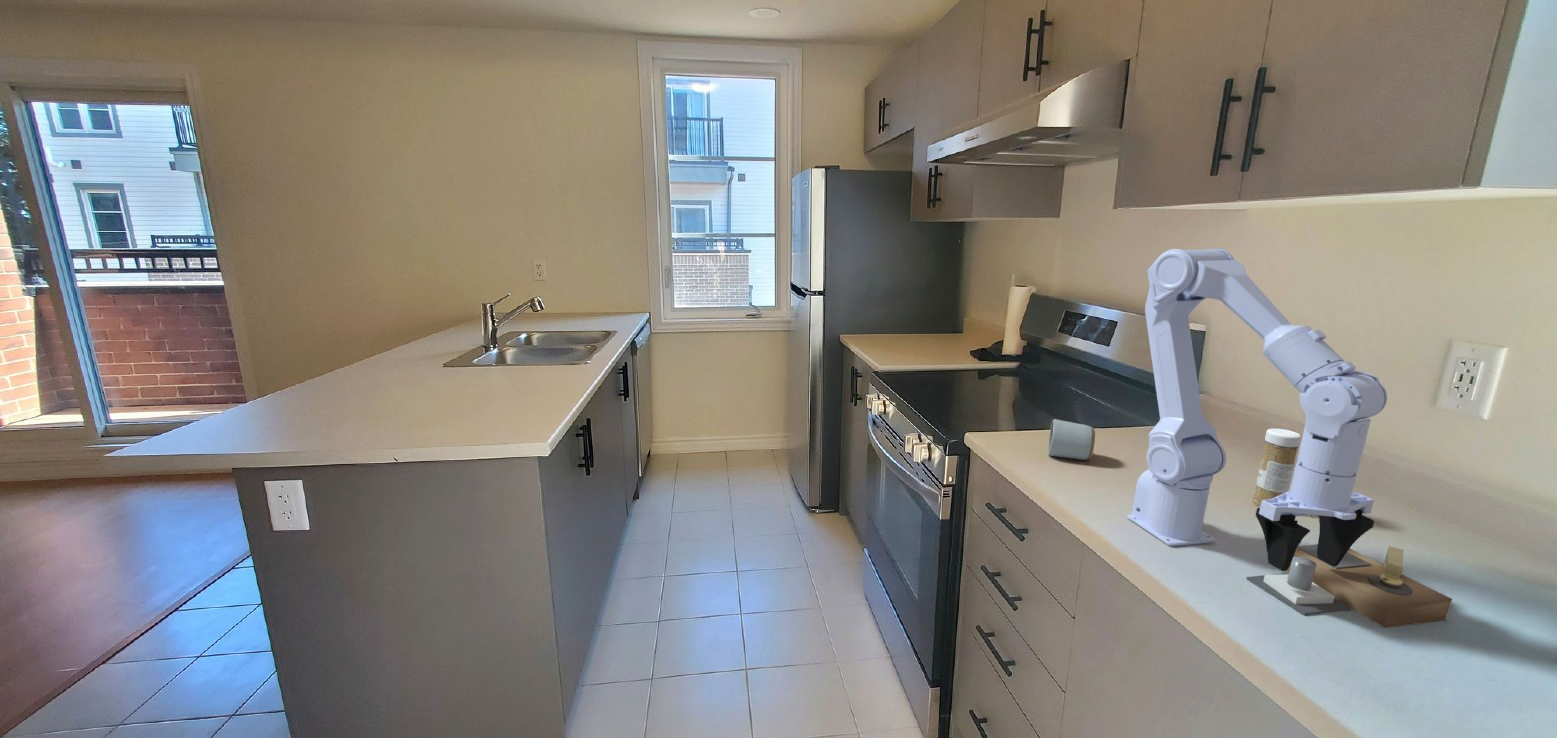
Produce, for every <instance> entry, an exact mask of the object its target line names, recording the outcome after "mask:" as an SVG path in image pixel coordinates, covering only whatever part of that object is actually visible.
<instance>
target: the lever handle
mask: <svg viewBox="0 0 1557 738" xmlns="http://www.w3.org/2000/svg"><path fill="white" fill-rule="evenodd" d="M1383 565H1384V569H1383V574H1381V575H1380V579H1379V581H1380V582H1381V583H1382V584H1384V585H1386V586H1389V587H1393V588H1401V586H1402V582H1403V580H1402V579H1400V577H1401V574H1402V572H1403V569H1404V549H1403V548H1399V547H1395V546H1391V545H1389V546H1388V548H1387V551H1386V555H1385V559H1384V563H1383Z"/></svg>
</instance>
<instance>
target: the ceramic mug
mask: <svg viewBox="0 0 1557 738" xmlns="http://www.w3.org/2000/svg"><path fill="white" fill-rule="evenodd" d="M1095 441H1096V431H1095V429H1094V428H1093V427H1092V426H1090V425H1087V424H1082V423H1077V422H1076V423H1075V422H1072V421H1066V420H1061V419H1056V418H1055V419H1053V420H1052V422H1051V424H1050V431H1049V438H1048V446H1047V456H1049V457H1050V456H1051V457H1057V458H1065V459H1066V458H1067V459H1073V460H1079V461H1082V460H1083V461H1086V460H1087V461H1088V460H1089V459H1091V458H1092V456H1093V453H1094V449H1095V443H1096V442H1095Z"/></svg>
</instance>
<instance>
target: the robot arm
mask: <svg viewBox="0 0 1557 738" xmlns="http://www.w3.org/2000/svg"><path fill="white" fill-rule="evenodd" d="M1147 277H1148V284H1149V288H1148V289H1149V290H1148V294H1147V298H1146V300H1145V301H1146V302H1145V306H1144V315H1145V319H1146V320H1145V321H1146V328H1147V333H1148V342H1149V350H1150V357H1151V364H1152V370H1153V378H1154V384H1155V385H1154V387H1155V392H1156V398H1157V405H1158V407H1157V408H1158V412H1159V413H1158V414H1159V421H1158V422H1157V423H1156V424H1155V425H1154V427H1153V428H1152V430H1151V431H1150V432H1149V434H1148V440H1149V446H1148V449H1147V451H1146V464H1147V467H1148V468H1147V469H1146V470H1144V471H1143V472H1142V473H1141V475H1140V476H1139V477H1138V479H1137V481H1136V485H1135V493H1134V498H1133V505H1132V512H1131V513H1128V514H1127V515H1126V518H1127V519H1129V520H1130V521H1132V522H1133V523H1135V524H1136V525H1138V526H1139V527H1140V528H1142V529H1144V530H1145V531H1146V532H1148V533H1150V534H1151V535H1153V536H1154V537H1156V538H1157V539H1159V540H1161V541H1162V542H1163V543H1165V544H1166V545H1167V546H1171V547H1172V546H1173V547H1175V546H1185V545H1187V546H1188V545H1197V544H1207V543H1208V544H1209V543H1215V542H1216V539H1215V538H1214V537H1212V536H1211V535H1210V534H1208V533H1206V532H1204V531H1202V530H1203V525H1204V520H1205V516H1206V515H1205V514H1206V509H1207V504H1208V499H1209V495H1210V489H1211V483H1212V482H1213V479H1214V475H1216V474H1218V473H1220V472H1222V470H1223V469H1224V467H1225V466H1226V463H1227V453H1226V450H1225V449H1224V447H1223V445H1222V444H1221V442H1220V441H1219V437H1218V435H1217V430H1216V427H1215V426H1214V425H1213V424H1211V423H1210V422H1209V421H1208V420H1207V419H1206V418H1204V417H1203V411H1202V410H1203V409H1202V402H1201V395H1200V390H1199V389H1200V388H1199V383H1198V382H1199V381H1198V377H1197V367H1196V361H1195V354H1194V349H1193V348H1194V347H1193V341H1192V334H1191V327H1190V326H1191V325H1190V321H1189V315H1190V314H1191V313H1192V312H1193V311H1194V310H1195V308H1196V307H1198V305H1200V303H1201V302H1203V301H1205V300H1206V299H1213V300H1218V301H1221V302H1222V303H1223V304H1224V305H1225V306H1226V307H1227V308H1228V309H1229V310H1230V311H1231V312H1233V313H1234V314H1235V316H1237V317H1238V318H1239V319H1240V320H1241V321H1242V322H1243V323H1245V324H1246V325H1247V326H1248V327H1249V328H1250V329H1251V330H1252V331H1253V332H1255V334H1257V335H1258V336H1259V337H1260V338H1261V339H1262V340H1263V342H1264V343H1263V348H1262V353H1263V355H1264V356H1265V358H1267V359H1268V360H1269V362H1271V364H1273V366H1274V367H1275V368H1276V369H1277V370H1278V371H1279V372H1280V374H1281V375H1283V376H1284V377H1285V378H1286V380H1288V381H1289V382H1290V383H1291V385H1292V387H1294V388H1295V389H1296V390H1297V391H1298V393H1299V404H1300V407H1301V410H1302V411H1303V413H1304V414H1305V423H1304V428H1303V432H1302V436H1301V440H1300V445H1299V450H1298V454H1297V459H1296V462H1295V465H1294V470H1293V474H1292V478H1291V482H1290V487H1289V488H1290V489H1289V490H1288V492H1286V493H1284V494H1281V495H1279V496H1277V497H1274V498H1272V499H1268V500H1262V502H1261V506H1259V507H1257V508H1256V511H1255V517H1256V519H1257V521H1258V523H1259V525H1260V528H1261V530H1262V533H1263V537H1264V540H1265V547H1266V555H1267V563H1268V565H1271V566H1273V567H1274V568H1275V569H1277V570H1279V571H1281V572H1288V571H1287V570H1288V568H1289V567H1290V565H1291V562H1292V559H1293V556H1294V553H1295V551H1296V549H1297V547H1298V546H1300V544H1301V542H1302V540H1303V539H1304V538H1305V537H1306V536H1307V535H1308V534H1309V533H1310V532H1311V529H1309V528H1306V527H1305V526H1303V525H1301V524H1299V523H1298V522H1299V520H1297V519H1296V517H1304V516H1318V522H1319V523H1318V524H1319V535H1318V539H1317V540H1318V542H1317V544H1318V547H1317V558H1318V559H1320V560H1322V561H1324V562H1326V563H1327V564H1329V565H1331V566H1337V565H1338V564H1339V563H1340V561H1341V560H1342V558H1343V557H1344V555H1345V554H1346V553H1347V551H1348V550H1349V549H1351V548H1352V545H1354V543H1356V541H1358V540H1359V539H1360V537H1362V536H1363V535H1365V533H1367V532H1369V530H1371V529H1373V527H1374V524H1375V521H1374V519H1372V518H1370V517H1368V516H1366V514H1367V515H1368V514H1371V513H1372V509H1373V505H1374V501H1375V500H1374V498H1371V497H1369V496H1366V495H1363V494H1361V493H1358V492H1356V493H1355V492H1353V491H1354V487H1355V483H1356V479H1357V475H1358V473H1359V469H1360V464H1361V461H1362V456H1363V453H1364V449H1365V447H1366V445H1365V444H1366V441H1367V436H1368V432H1369V430H1370V425H1371V421H1372V420H1371V419H1370V418H1372V417H1374V416H1376V415H1378V414H1380V413H1381V412H1382V411H1383V410H1384V408H1385V406H1387V405H1386V404H1387V402H1388V394H1387V390H1386V388H1385V387H1384V385H1383V383H1381V382H1380V380H1379V378H1378V376H1376V375H1374V374H1371V373H1369V372H1365V371H1359V370H1356V368H1357V367H1356V365H1355V364H1354V363H1352V362H1351V361H1345V359H1343V358H1342V357H1341V356H1340V355H1339V354H1338V353H1337V352H1336V351H1335V350H1334V349H1333V348H1332V347H1331V346H1330V345H1329V344H1328V343H1327V342H1326V341H1325V339H1326V338H1327V335H1326V334H1325V333H1324V332H1323V331H1322V330H1320V329H1312V328H1311V326H1307V325H1297V324H1296V325H1295V324H1292V323H1291V321H1289V320H1288V319H1287V318H1286V316H1284V315H1283V314H1282V312H1281V311H1280V310H1279V309H1278V308H1277V307H1276V306H1275V304H1274V303H1273V302H1272V301H1271V300H1270V299H1269V298H1268V297H1267V296H1266V294H1265V293H1264V292H1263V291H1262V290H1261V289H1260V288H1259V287H1258V286H1257V284H1256V283H1255V282H1254V281H1253V280H1252V279H1251V278H1250V276H1248V274H1247V272H1246V269H1245V267H1244V264H1242V263H1241V262H1240V261H1238V260H1237V259H1234V257H1233V255H1232V254H1231V253H1230V252H1229V251H1227V250H1226V249H1224V248H1206V249H1180V248H1172V249H1168V250H1166V251H1164V252H1162V253H1161V254H1160V255H1158V257H1157V259H1155V261H1154V262H1153V263H1152V264H1151V266H1150V267H1149V268H1148V270H1147ZM1363 514H1364V515H1363Z"/></svg>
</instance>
